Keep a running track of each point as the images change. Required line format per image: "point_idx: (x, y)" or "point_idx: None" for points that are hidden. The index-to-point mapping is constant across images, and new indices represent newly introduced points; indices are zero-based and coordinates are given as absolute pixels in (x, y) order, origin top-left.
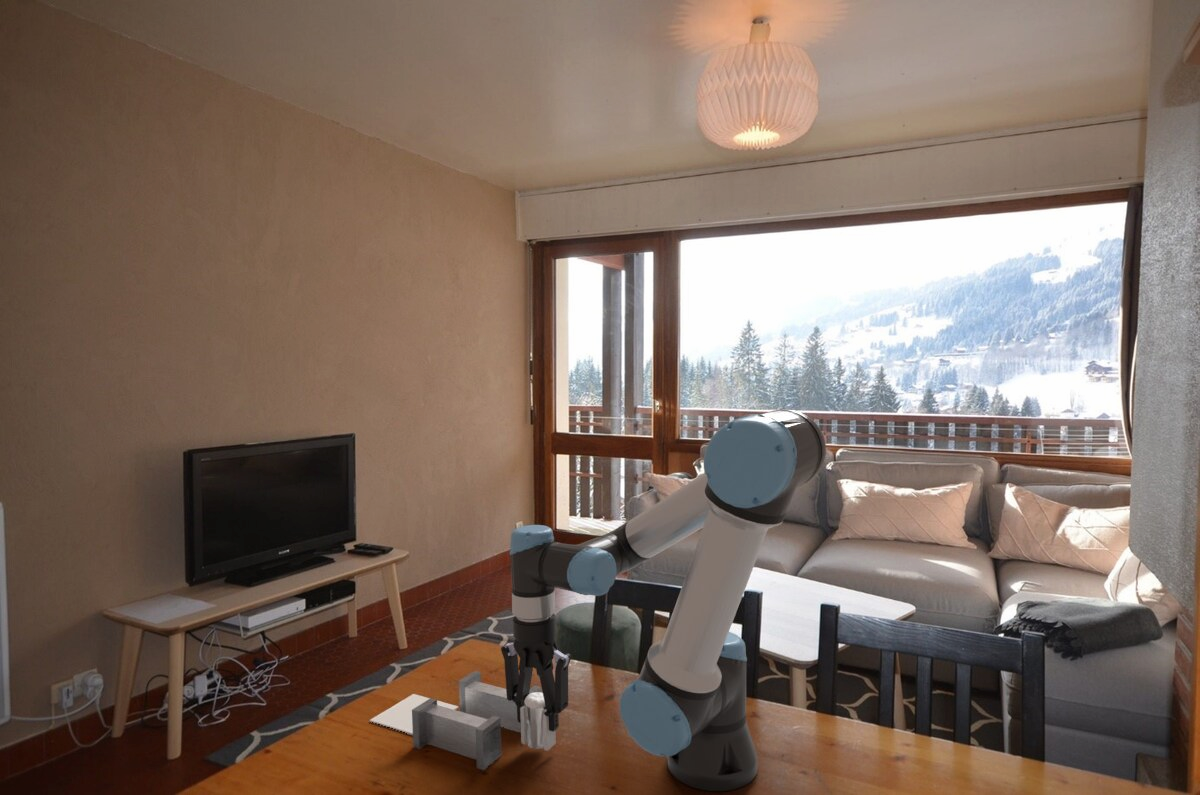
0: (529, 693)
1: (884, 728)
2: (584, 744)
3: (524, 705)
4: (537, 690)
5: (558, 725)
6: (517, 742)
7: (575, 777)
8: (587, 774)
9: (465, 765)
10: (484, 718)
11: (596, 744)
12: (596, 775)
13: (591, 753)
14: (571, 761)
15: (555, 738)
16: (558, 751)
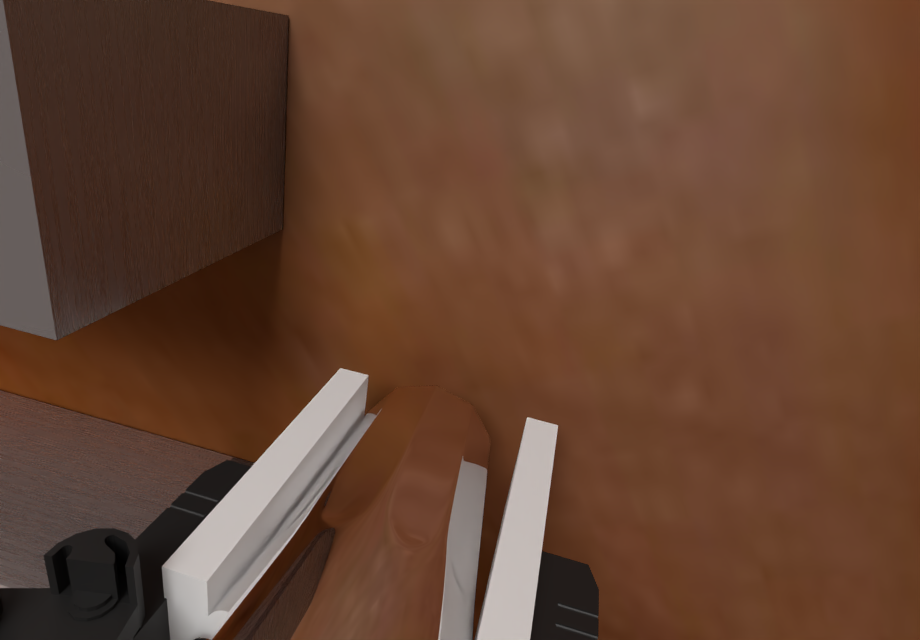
0: (8, 220)
1: None
2: (750, 249)
3: (176, 637)
4: (25, 76)
5: (597, 595)
6: (278, 329)
7: (764, 595)
8: (840, 567)
9: None
10: (9, 587)
11: (862, 224)
12: (907, 571)
13: (834, 354)
14: (698, 462)
15: (554, 448)
16: (573, 374)
